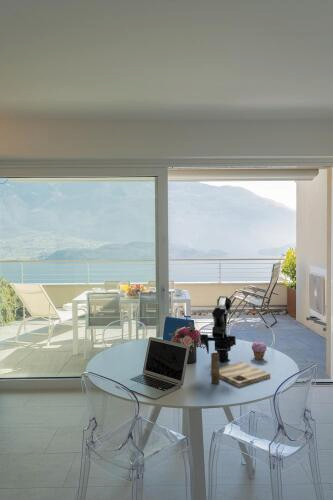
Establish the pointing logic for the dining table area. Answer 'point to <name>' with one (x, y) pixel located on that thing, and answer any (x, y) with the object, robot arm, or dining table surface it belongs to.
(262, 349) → the cupcake
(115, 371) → the dining table surface
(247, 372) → the stool top
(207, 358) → the dining table surface
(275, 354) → the dining table surface
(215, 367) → the stool leg
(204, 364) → the dining table surface
